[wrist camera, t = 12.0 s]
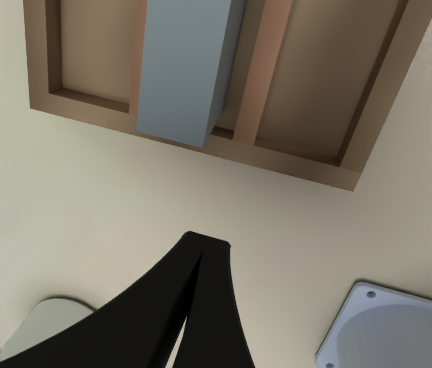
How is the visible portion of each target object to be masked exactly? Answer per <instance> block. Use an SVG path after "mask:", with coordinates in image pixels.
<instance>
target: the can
mask: <svg viewBox="0 0 432 368" xmlns="http://www.w3.org/2000/svg"><path fill="white" fill-rule="evenodd" d="M93 312H95V311H94V310H93V309H91V308H90V307H88V306H87V305H85V304H83V303H81V302H78V301H76V300H72V299H68V298H53V299H48V300H44V301H42V302H40V303H39V304H38V305H37V306H36V307H35V308H34V309H33V310H32V312H31V313H30V314H29V315H28V316H27V318H26V319H25V320H24V321H23V323H22V324H21V325H20V326H19V328H18V329H17V330H16V331H15V333H14V334H13V335H12V336H11V338H10V339H9V340H8V341H7V342H6V344H5V345H4V346H3V347H2V349H1V350H0V361H3V360H5V359H7V358H9V357H12V356H14V355H16V354H18V353H20V352H22V351H25V350H26V349H28V348H30V347H32V346H34V345H36V344H38V343H40V342H42V341H44V340H46V339H48V338H50V337H52V336H54V335H56V334H57V333H59V332H61V331H63V330H65V329H67V328H68V327H70V326H72V325H74V324H75V323H77V322H78V321H80V320H82V319H83V318H85V317H87V316H88V315H90V314H91V313H93Z"/></svg>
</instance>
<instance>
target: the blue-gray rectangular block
mask: <svg viewBox="0 0 432 368" xmlns="http://www.w3.org/2000/svg"><path fill="white" fill-rule="evenodd" d="M246 5H247V0H148V1H147V12H146V23H145V35H144V46H143V57H142V68H141V79H140V90H139V101H138V112H137V123H136V131H138V132H142V133H145V134H149V135H153V136H157V137H161V138H165V139H169V140H173V141H176V142H180V143H184V144H188V145H192V146H196V147H200V148H203V146H204V145H205V143H206V141H207V139H208V137H209V135H210V133H211V132H212V130H213V128H214V126H215V124H216V122H217V121H218V119H219V117H220V115H221V113H222V111H223V110H224V108H225V103H226V98H227V94H228V89H229V84H230V80H231V75H232V70H233V66H234V61H235V56H236V52H237V47H238V42H239V38H240V33H241V28H242V24H243V19H244V14H245V10H246Z"/></svg>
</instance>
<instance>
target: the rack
mask: <svg viewBox="0 0 432 368" xmlns="http://www.w3.org/2000/svg"><path fill="white" fill-rule="evenodd" d="M147 1H148V0H23V6H24V22H25V37H26V52H27V68H28V83H29V98H30V108H31V109H35V110H39V111H42V112H46V113H50V114H54V115H58V116H62V117H66V118H70V119H73V120H77V121H81V122H85V123H89V124H93V125H97V126H101V127H104V128H108V129H112V130H116V131H120V132H124V133H128V134H132V135H135V136H139V137H143V138H147V139H151V140H155V141H159V142H163V143H166V144H170V145H174V146H178V147H182V148H186V149H190V150H194V151H197V152H201V153H205V154H209V155H213V156H217V157H221V158H225V159H228V160H232V161H236V162H240V163H244V164H248V165H252V166H256V167H259V168H263V169H267V170H271V171H275V172H279V173H283V174H287V175H290V176H294V177H298V178H302V179H306V180H310V181H314V182H317V183H321V184H325V185H329V186H333V187H337V188H341V189H345V190H348V191H352V192H353V191H354V189H355V186H356V184H357V182H358V180H359V177H360V175H361V173H362V171H363V169H364V166H365V164H366V162H367V160H368V158H369V155H370V153H371V151H372V149H373V147H374V144H375V142H376V140H377V138H378V135H379V133H380V131H381V129H382V127H383V124H384V122H385V120H386V118H387V116H388V113H389V111H390V109H391V107H392V105H393V102H394V100H395V98H396V96H397V94H398V91H399V89H400V87H401V85H402V82H403V80H404V78H405V76H406V74H407V71H408V69H409V67H410V65H411V63H412V60H413V58H414V56H415V54H416V52H417V49H418V47H419V45H420V43H421V41H422V38H423V36H424V34H425V32H426V29H427V27H428V25H429V23H430V21H431V18H432V0H247V5H246V10H245V14H244V19H243V24H242V28H241V33H240V38H239V42H238V47H237V52H236V56H235V61H234V66H233V70H232V75H231V80H230V84H229V89H228V94H227V98H226V103H225V108H224V110H223V111H222V113H221V115H220V117H219V119H218V121H217V122H216V124H215V126H214V128H213V130H212V132H211V133H210V135H209V137H208V139H207V141H206V143H205V145H204V146H203V148H200V147H196V146H192V145H188V144H184V143H180V142H176V141H173V140H169V139H165V138H161V137H157V136H153V135H149V134H145V133H142V132H138V131H136V123H137V112H138V101H139V90H140V79H141V68H142V57H143V46H144V35H145V23H146V12H147Z"/></svg>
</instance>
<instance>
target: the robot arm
mask: <svg viewBox="0 0 432 368" xmlns="http://www.w3.org/2000/svg"><path fill="white" fill-rule="evenodd" d="M230 247H231V246H230V244H229V242H227V241H223V240H220V239H216V238H213V237H209V236H206V235H202V234H199V233H195V232H192V231H188V232H186V233H184V235H183V236H182V237H181V239H180V240H179V241H178V242H177V243H176V244H175V246H174V247H173V248H172V249H171V250H170V251H169V252H168V253H167V254H166V255H165V256H164V257H163V258H162V259H161V260H160V261H159V262H158V263H156V264H155V265H154V266H153V267H152V268H151V269H150V270H149V271H148V272H147V273H145V274H144V275H143V276H142V277H141V278H139V279H138V280H137V281H136V282H135V283H133V284H132V285H131V286H130V287H128V288H127V289H126V290H125V291H123V292H122V293H121V294H119V295H118V296H117V297H115V298H114V299H112V300H111V301H109V302H108V303H107V304H105V305H104V306H102V307H101V308H99V309H98V310H96V311H95V312H93V313H91V314H90V315H88V316H87V317H85V318H83V319H82V320H80V321H78V322H77V323H75V324H74V325H72V326H70V327H68V328H67V329H65V330H63V331H61V332H59V333H57V334H56V335H54V336H52V337H50V338H48V339H46V340H44V341H42V342H40V343H38V344H36V345H34V346H32V347H30V348H28V349H26V350H25V351H22V352H20V353H18V354H16V355H14V356H12V357H9V358H7V359H5V360H3V361H0V368H165V367H166V364H167V362H168V360H169V357H170V355H171V352H172V350H173V348H174V345H175V343H176V341H177V338H178V336H179V334H180V331H181V329H182V326H183V324H184V322H185V319H186V317H187V319H186V324H185V329H184V333H183V337H182V340H181V343H180V346H179V349H178V352H177V355H176V358H175V361H174V364H173V367H172V368H255V365H254V363H253V360H252V357H251V354H250V351H249V348H248V345H247V342H246V339H245V336H244V332H243V329H242V325H241V321H240V317H239V314H238V309H237V305H236V300H235V295H234V289H233V283H232V276H231V267H230ZM370 291H371V292H373V293H368V292H370ZM315 363H316V365H317V366H318V367H320V368H432V300H428V299H424V298H421V297H417V296H413V295H410V294H406V293H402V292H399V291H395V290H391V289H388V288H384V287H380V286H377V285H373V284H369V283H366V282H358V283H356V284H355V285H354V286H353V288H352V290H351V292H350V294H349V295H348V297H347V299H346V301H345V303H344V305H343V307H342V309H341V310H340V312H339V314H338V316H337V318H336V320H335V322H334V323H333V325H332V327H331V329H330V331H329V333H328V335H327V336H326V338H325V340H324V342H323V344H322V346H321V348H320V350H319V351H318V353H317V355H316V357H315Z"/></svg>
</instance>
